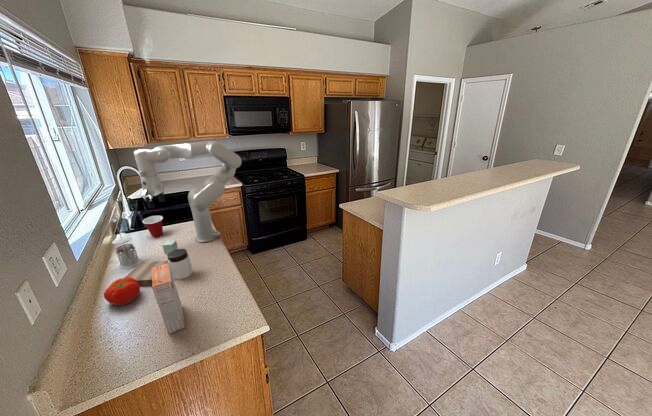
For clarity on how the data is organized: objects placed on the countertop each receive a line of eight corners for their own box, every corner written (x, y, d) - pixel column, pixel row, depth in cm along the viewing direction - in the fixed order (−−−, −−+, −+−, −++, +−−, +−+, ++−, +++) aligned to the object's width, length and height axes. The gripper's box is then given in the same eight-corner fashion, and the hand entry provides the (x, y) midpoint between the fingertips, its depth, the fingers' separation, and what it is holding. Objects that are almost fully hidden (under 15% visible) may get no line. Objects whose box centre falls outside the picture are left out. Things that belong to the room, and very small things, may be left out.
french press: (139, 256, 144) (125, 214, 135) (143, 264, 136) (129, 220, 127) (117, 263, 138) (101, 220, 129) (121, 272, 130) (104, 226, 121)
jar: (168, 277, 124) (162, 256, 120) (182, 268, 131) (176, 247, 127) (183, 281, 122) (177, 258, 117) (196, 271, 129) (191, 249, 124)
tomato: (113, 294, 114) (106, 278, 111) (145, 287, 118) (140, 271, 115) (101, 314, 103) (94, 296, 100) (138, 305, 107) (132, 288, 104)
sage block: (178, 249, 149) (176, 240, 147) (174, 254, 145) (171, 244, 143) (169, 250, 149) (166, 240, 147) (165, 254, 145) (162, 245, 142)
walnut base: (174, 265, 134) (173, 260, 133) (158, 284, 119) (156, 279, 118) (142, 267, 133) (140, 262, 132) (122, 287, 119) (120, 281, 118)
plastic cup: (147, 241, 159) (142, 224, 155) (147, 235, 168) (142, 218, 163) (168, 236, 165) (163, 219, 161) (166, 230, 173) (162, 214, 169)
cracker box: (165, 311, 103) (150, 267, 96) (182, 305, 106) (169, 261, 99) (167, 335, 92) (151, 287, 84) (186, 328, 95) (172, 280, 87)
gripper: (145, 177, 127) (154, 210, 133) (165, 169, 143) (172, 199, 149) (129, 178, 127) (139, 210, 133) (151, 170, 143) (159, 199, 149)
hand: (157, 204), depth 141 cm, fingers open, 9 cm apart
